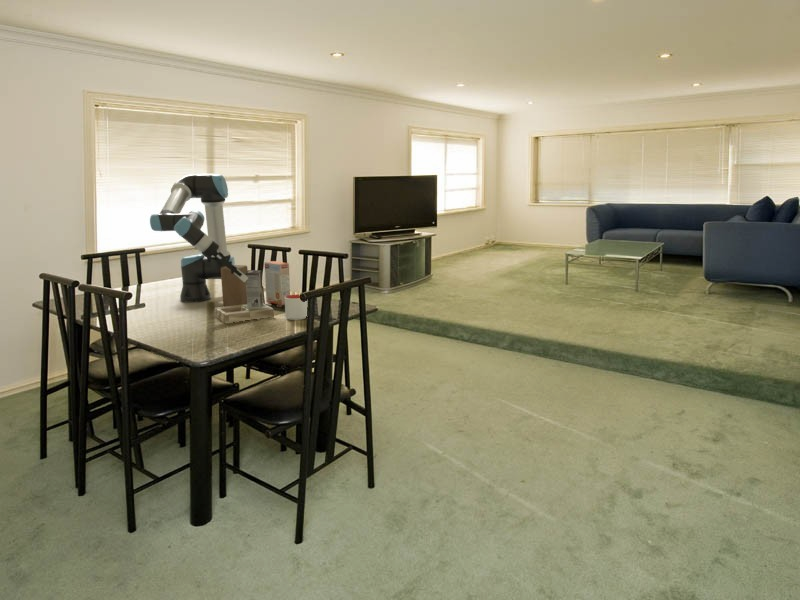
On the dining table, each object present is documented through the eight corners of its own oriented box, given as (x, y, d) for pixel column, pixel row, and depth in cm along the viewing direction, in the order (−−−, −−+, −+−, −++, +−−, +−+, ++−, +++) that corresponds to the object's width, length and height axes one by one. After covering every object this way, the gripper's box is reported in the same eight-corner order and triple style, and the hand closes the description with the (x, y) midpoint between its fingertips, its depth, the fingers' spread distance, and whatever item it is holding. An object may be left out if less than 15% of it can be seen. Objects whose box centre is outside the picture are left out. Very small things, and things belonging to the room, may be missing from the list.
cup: (296, 314, 272) (295, 293, 270) (312, 317, 266) (311, 295, 264) (280, 318, 264) (279, 297, 262) (297, 321, 258) (295, 299, 256)
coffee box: (249, 304, 275) (247, 270, 271) (263, 303, 275) (261, 269, 272) (246, 308, 266) (244, 273, 262) (261, 307, 266) (259, 272, 263)
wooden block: (241, 308, 286) (238, 268, 281) (222, 307, 288) (219, 267, 283) (250, 304, 295) (248, 265, 291) (232, 303, 297) (229, 264, 293)
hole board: (215, 316, 270) (214, 307, 269) (261, 310, 281) (261, 301, 280) (225, 323, 256) (225, 314, 255) (274, 317, 267) (273, 307, 266)
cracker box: (291, 304, 295) (289, 262, 290) (281, 305, 291) (279, 264, 286) (276, 300, 305) (273, 260, 300) (266, 301, 300) (263, 261, 296)
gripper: (197, 249, 266) (233, 279, 276) (204, 256, 244) (242, 288, 254) (208, 237, 268) (244, 267, 277) (216, 243, 245) (254, 275, 255)
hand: (243, 277), depth 265 cm, fingers open, 13 cm apart
